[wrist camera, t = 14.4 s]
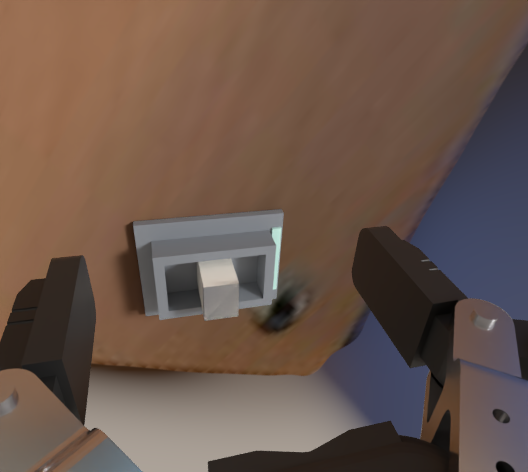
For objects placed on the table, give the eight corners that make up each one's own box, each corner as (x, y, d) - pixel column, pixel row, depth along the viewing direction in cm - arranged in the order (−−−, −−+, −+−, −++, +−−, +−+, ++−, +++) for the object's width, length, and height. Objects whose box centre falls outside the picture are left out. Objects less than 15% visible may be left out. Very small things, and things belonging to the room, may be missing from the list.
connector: (197, 283, 54) (204, 320, 49) (196, 251, 51) (203, 287, 46) (227, 279, 55) (238, 316, 49) (227, 248, 52) (239, 283, 47)
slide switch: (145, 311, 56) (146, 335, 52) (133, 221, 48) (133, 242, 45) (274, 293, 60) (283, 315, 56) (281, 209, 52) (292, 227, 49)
